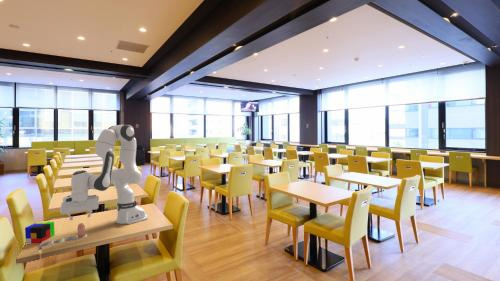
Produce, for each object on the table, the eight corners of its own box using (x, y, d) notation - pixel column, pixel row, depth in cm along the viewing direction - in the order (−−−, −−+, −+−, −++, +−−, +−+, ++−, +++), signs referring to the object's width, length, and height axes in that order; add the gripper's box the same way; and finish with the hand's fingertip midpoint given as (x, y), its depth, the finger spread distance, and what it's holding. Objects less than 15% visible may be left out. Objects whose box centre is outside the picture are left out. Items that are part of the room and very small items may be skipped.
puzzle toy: (25, 243, 159) (25, 227, 159) (39, 236, 169) (38, 221, 169) (42, 244, 159) (41, 227, 158) (54, 237, 169) (54, 221, 168)
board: (87, 234, 173) (87, 232, 173) (89, 238, 167) (89, 236, 167) (38, 245, 157) (38, 242, 157) (38, 250, 151) (38, 247, 151)
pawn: (85, 234, 170) (84, 221, 170) (85, 236, 167) (84, 223, 166) (77, 235, 168) (77, 223, 168) (78, 237, 165) (77, 224, 164)
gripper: (97, 193, 175) (98, 214, 175) (59, 198, 162) (60, 220, 163) (99, 195, 170) (99, 216, 170) (60, 200, 157) (60, 223, 158)
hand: (80, 218), depth 166 cm, fingers open, 8 cm apart
